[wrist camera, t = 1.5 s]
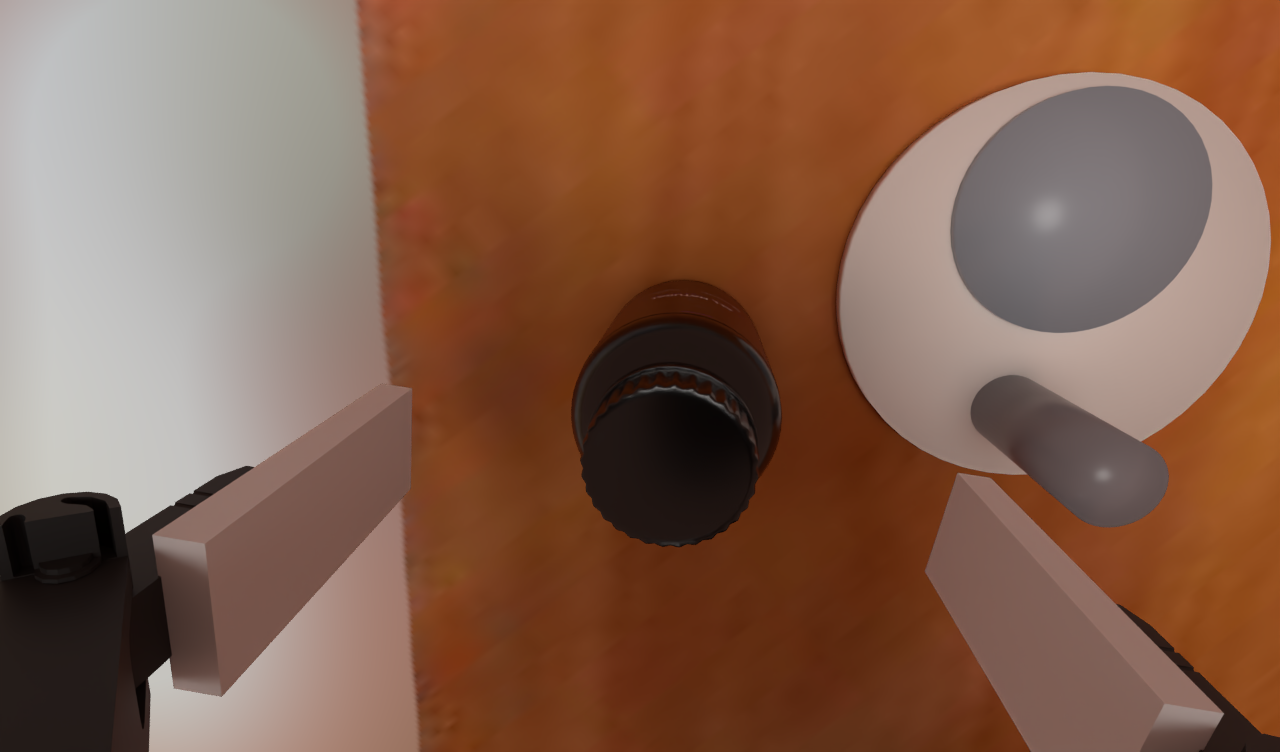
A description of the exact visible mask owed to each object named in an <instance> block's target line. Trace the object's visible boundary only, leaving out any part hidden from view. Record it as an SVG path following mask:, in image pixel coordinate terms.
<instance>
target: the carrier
mask: <svg viewBox="0 0 1280 752" xmlns="http://www.w3.org/2000/svg"><path fill="white" fill-rule="evenodd" d="M1270 246H1271V234H1270V217H1269V211H1268V206H1267V202H1266V197H1265V192H1264V188H1263V186H1262V183H1261V181H1260V178H1259V176H1258V173H1257V171H1256V168H1255V166H1254V163H1253V162H1252V160H1251V158H1250V157H1249V155H1248V153H1247V152H1246V150H1245V148H1244V147H1243V145H1242V144H1241V142H1240V140H1239V139H1238V138H1237V137H1236V136H1235V135H1234V134H1233V132H1232V131H1231V130H1230V129H1229V128H1228V127H1227V126H1226V124H1225V123H1224V122H1223V121H1222V120H1221V119H1219V118H1218V117H1217V116H1216V115H1215V114H1213V113H1212V112H1211V111H1210V110H1208V109H1207V108H1206V107H1205V106H1203V105H1202V104H1201V103H1199V102H1197V101H1196V100H1194V99H1192V98H1190V97H1189V96H1187V95H1185V94H1183V93H1182V92H1180V91H1178V90H1176V89H1173V88H1171V87H1168V86H1165V85H1163V84H1160V83H1157V82H1154V81H1152V80H1148V79H1144V78H1139V77H1134V76H1129V75H1124V74H1115V73H1097V72H1086V73H1073V74H1061V75H1055V76H1051V77H1046V78H1041V79H1037V80H1032V81H1028V82H1025V83H1022V84H1018V85H1015V86H1012V87H1009V88H1007V89H1004V90H1001V91H998V92H995V93H992V94H989V95H986V96H984V97H982V98H980V99H978V100H976V101H974V102H972V103H970V104H968V105H966V106H964V107H962V108H960V109H958V110H957V111H955V112H954V113H952V114H950V115H949V116H947V117H946V118H944V119H943V120H941V121H939V122H938V123H936V124H935V125H933V126H932V127H931V128H930V129H929V130H927V131H926V132H925V133H924V134H922V135H921V136H920V137H919V138H918V139H916V140H915V141H914V142H913V143H911V144H910V145H909V146H908V148H907V149H906V150H905V151H904V152H903V153H902V154H901V155H900V156H899V157H898V158H897V159H896V160H895V161H894V162H893V163H892V164H891V165H890V166H889V168H888V169H887V170H886V172H885V173H884V174H883V176H882V177H881V178H880V180H879V181H878V182H877V183H876V185H875V186H874V187H873V189H872V191H871V192H870V194H869V196H868V197H867V199H866V201H865V202H864V204H863V206H862V207H861V209H860V211H859V213H858V215H857V217H856V220H855V222H854V224H853V226H852V229H851V231H850V233H849V236H848V239H847V242H846V245H845V249H844V252H843V255H842V259H841V263H840V269H839V275H838V281H837V292H836V315H837V324H838V334H839V338H840V342H841V346H842V349H843V353H844V357H845V359H846V362H847V364H848V366H849V369H850V371H851V374H852V376H853V378H854V380H855V381H856V383H857V385H858V386H859V388H860V390H861V391H862V393H863V395H864V396H865V397H866V399H867V400H868V401H869V402H870V404H871V405H872V406H873V407H874V408H875V410H876V411H877V412H878V413H879V415H880V416H881V417H882V418H883V419H884V421H885V422H887V423H888V424H889V425H890V426H891V427H892V428H893V429H894V430H895V431H896V432H897V433H898V434H900V435H901V436H902V437H903V438H905V439H906V440H908V441H909V442H911V443H912V444H914V445H915V446H916V447H918V448H919V449H921V450H923V451H925V452H927V453H929V454H931V455H933V456H935V457H937V458H939V459H941V460H944V461H947V462H950V463H952V464H955V465H958V466H961V467H964V468H969V469H974V470H978V471H983V472H989V473H999V474H1010V475H1016V474H1028V475H1029V476H1030V477H1031V478H1032V479H1034V480H1035V481H1036V482H1037V483H1038V484H1039V485H1041V486H1042V487H1043V488H1044V489H1045V490H1046V491H1048V492H1049V493H1050V494H1051V495H1052V496H1054V497H1055V498H1056V499H1057V500H1058V501H1059V502H1061V503H1062V504H1063V505H1064V506H1065V507H1066V508H1068V509H1069V510H1070V511H1071V512H1072V513H1073V514H1075V515H1076V516H1077V517H1078V518H1079V519H1081V520H1082V521H1084V522H1086V523H1088V524H1091V525H1094V526H1099V527H1118V526H1123V525H1127V524H1130V523H1133V522H1135V521H1137V520H1139V519H1141V518H1142V517H1144V516H1146V515H1147V514H1148V513H1150V512H1151V511H1152V510H1153V509H1154V508H1155V507H1156V506H1157V505H1158V504H1159V502H1160V501H1161V499H1162V498H1163V496H1164V494H1165V492H1166V489H1167V486H1168V478H1169V475H1168V469H1167V465H1166V463H1165V461H1164V459H1163V458H1162V457H1161V455H1160V454H1159V453H1158V452H1157V451H1155V450H1154V449H1153V448H1151V447H1149V446H1147V445H1146V444H1144V443H1142V442H1141V441H1143V440H1144V439H1146V438H1148V437H1149V436H1151V435H1153V434H1154V433H1156V432H1158V431H1159V430H1161V429H1162V428H1164V427H1165V426H1166V425H1168V424H1169V423H1170V422H1171V421H1173V420H1174V419H1175V418H1177V417H1178V416H1179V415H1181V414H1182V413H1183V412H1185V411H1186V410H1187V409H1188V408H1189V407H1190V406H1191V405H1192V404H1193V403H1194V402H1195V401H1196V400H1197V399H1198V398H1199V397H1200V396H1202V395H1203V394H1204V393H1205V392H1206V390H1207V389H1208V388H1209V387H1210V386H1211V385H1212V383H1213V382H1214V381H1215V380H1216V379H1217V378H1218V376H1219V375H1220V374H1221V373H1222V372H1223V371H1224V369H1225V368H1226V366H1227V365H1228V363H1229V362H1230V360H1231V359H1232V357H1233V356H1234V354H1235V353H1236V351H1237V350H1238V348H1239V347H1240V345H1241V343H1242V341H1243V339H1244V337H1245V335H1246V333H1247V332H1248V330H1249V328H1250V326H1251V324H1252V322H1253V319H1254V317H1255V314H1256V311H1257V309H1258V306H1259V303H1260V301H1261V298H1262V295H1263V290H1264V286H1265V282H1266V277H1267V273H1268V269H1269V258H1270Z"/></svg>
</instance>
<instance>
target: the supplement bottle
mask: <svg viewBox="0 0 1280 752" xmlns="http://www.w3.org/2000/svg"><path fill="white" fill-rule="evenodd" d="M571 420H572V428H573V434H574V438H575V441H576V444H577V447H578V450H579V452H580V454H581V458H580V461H581V464H582V466H583V470H582V478H583V480H584V481H585V483H586V492H587V493H588V495H589V496H590V497H591V498H592V502H593V506H594V507H595V508H597V509H598V510H599V511H600V512H601V514H602V516H603V518H604V519H605V520H607V521H609V522H611V523H612V524H613V526H614V527H615V529H617V530H619V531H623V532H625V533H626V534H627V535H628V536H629V537H630V538H637V539H640V540H641V541H643V542H644V543H646V544H652V543H655V544H657V545H659V546H662V547H664V546H668V545H672V546H675V547H682V546H684V545H686V544H691V545H696V544H698V543H699V542H701V541H702V540H709V539H712V538H713V537H714V536H715V535H716V534H717V533H721V532H724V531H726V530H727V528H728V527H729V525H730V524H731V523H734V522H736V521H738V519H739V517H740V514H741V512H743V511H744V510H746V509H747V508H748V504H749V499H750V498H751V497H752V496H753V495H754V494H755V483H756V482H757V480H758V479H759V477H760V476H761V475H762V474H763V472H764V471H765V469H766V468H767V467H768V465H769V463H770V461H771V459H772V457H773V455H774V452H775V450H776V447H777V444H778V441H779V437H780V431H781V422H782V412H781V402H780V396H779V391H778V387H777V384H776V381H775V378H774V375H773V373H772V370H771V367H770V365H769V362H768V359H767V357H766V354H765V351H764V349H763V346H762V343H761V341H760V338H759V335H758V333H757V330H756V328H755V326H754V324H753V322H752V320H751V319H750V317H749V315H748V314H747V312H746V311H745V310H744V309H743V307H742V306H741V305H740V304H739V303H738V302H737V301H736V300H734V299H733V298H732V297H731V296H730V295H728V294H727V293H725V292H724V291H722V290H720V289H718V288H716V287H714V286H711V285H708V284H705V283H701V282H697V281H689V280H679V281H670V282H665V283H661V284H658V285H655V286H653V287H650V288H648V289H646V290H644V291H643V292H641V293H640V294H638V295H637V296H635V297H634V298H633V299H632V300H630V301H629V302H628V303H627V304H626V305H625V307H624V308H623V309H622V310H621V311H620V313H619V314H618V315H617V317H616V318H615V319H614V321H613V322H612V324H611V325H610V327H609V328H608V330H607V331H606V333H605V334H604V335H603V337H602V338H601V340H600V341H599V343H598V344H597V346H596V347H595V349H594V350H593V352H592V353H591V355H590V356H589V357H588V359H587V361H586V362H585V364H584V366H583V368H582V370H581V372H580V375H579V377H578V380H577V382H576V385H575V389H574V392H573V398H572V407H571Z"/></svg>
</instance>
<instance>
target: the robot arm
mask: <svg viewBox="0 0 1280 752" xmlns="http://www.w3.org/2000/svg"><path fill="white" fill-rule="evenodd" d="M411 431H412V388H407V387H400V386H394V385H387V384H380V385H379V386H377V387H376V388H374V389H372V390H371V391H370V392H368V393H366V394H365V395H363V396H362V397H360V398H359V399H357V400H356V401H354V402H353V403H351V404H350V405H348V406H347V407H345V408H344V409H342V410H341V411H339V412H338V413H336V414H335V415H333V416H332V417H330V418H329V419H327V420H326V421H324V422H323V423H321V424H319V425H318V426H316V427H315V428H314V429H312V430H310V431H309V432H307V433H306V434H304V435H303V436H301V437H300V438H298V439H297V440H296V441H294V442H292V443H291V444H289V445H288V446H286V447H285V448H283V449H282V450H280V451H279V452H277V453H276V454H274V455H273V456H271V457H269V458H268V459H267V460H265V461H263V462H262V463H260V464H259V465H257V466H256V467H250V466H245V467H242V468H239V469H236V470H233V471H231V472H228V473H225V474H222V475H219V476H217V477H215V478H214V479H212V480H210V481H209V482H207V483H206V484H204V485H202V486H201V487H199V488H198V489H196V490H195V491H194V493H193V494H188V495H186V496H185V497H184V498H182V499H180V500H178V501H177V502H176V503H175V505H174V506H169V507H167V508H166V509H164V510H162V511H161V512H159V513H158V514H156V515H155V516H153V517H151V518H150V519H148V520H147V521H145V522H143V523H142V524H140V525H139V526H137V527H135V528H134V529H132V530H131V531H129V532H127V533H126V534H125V530H124V524H123V517H122V511H121V506H120V504H119V501H118V499H116V498H114V497H112V496H110V495H107V494H103V493H93V492H79V493H66V494H60V495H55V496H51V497H46V498H41V499H37V500H35V501H32V502H29V503H26V504H23V505H20V506H18V507H15V508H13V509H12V510H10V511H8V512H6V513H5V514H3V515H1V516H0V752H149V727H150V689H149V683H148V677H149V676H150V675H151V674H152V673H154V672H155V671H156V670H157V669H158V668H159V667H160V666H161V665H162V664H163V663H164V662H166V661H167V660H168V659H169V658H170V664H171V671H172V678H173V686H174V688H175V689H181V690H187V691H192V692H198V693H203V694H209V695H215V696H221V697H222V696H223V695H224V694H225V693H226V691H227V690H228V689H229V688H230V687H231V686H232V685H233V684H234V683H235V682H236V680H237V679H238V678H239V677H240V676H241V675H242V674H243V673H244V672H245V671H246V669H247V668H248V667H249V666H250V665H251V664H252V663H253V662H254V661H255V660H256V658H257V657H258V656H259V655H260V654H261V653H262V652H263V651H264V650H265V649H266V647H267V646H268V645H269V644H270V642H272V641H273V640H274V638H275V637H276V636H277V635H278V634H279V633H280V632H281V631H282V630H283V629H284V628H285V626H286V625H287V624H288V623H289V622H290V621H291V620H292V619H293V618H294V617H295V615H296V614H297V613H298V612H299V611H300V610H301V609H302V608H303V606H305V604H306V603H307V602H308V601H309V600H310V599H311V598H312V597H313V596H314V595H315V593H316V592H317V591H318V590H319V589H320V588H321V587H322V586H323V585H324V584H325V582H326V581H327V580H328V579H329V578H330V577H331V576H332V575H333V574H334V573H335V571H336V570H337V569H338V568H339V567H340V566H341V565H342V564H343V563H344V561H345V560H346V559H347V558H348V557H349V556H350V555H351V554H352V553H353V552H354V550H355V549H356V548H357V547H358V546H359V545H360V544H361V543H362V542H363V541H364V539H365V538H366V537H367V536H368V535H369V534H370V533H371V532H372V530H374V528H375V527H376V526H377V525H378V524H379V523H380V522H381V521H382V520H383V518H384V517H385V516H386V515H387V514H388V513H389V512H390V511H391V510H392V508H394V506H395V505H396V504H397V503H398V502H399V501H400V500H401V499H402V498H403V497H404V495H405V494H406V493H407V492H408V491H409V490H410V489H411ZM925 572H926V574H927V576H928V578H929V579H930V581H931V583H932V584H933V586H934V588H935V589H936V591H937V593H938V595H939V596H940V598H941V600H942V601H943V603H944V605H945V606H946V608H947V610H948V612H949V613H950V615H951V617H952V618H953V620H954V622H955V623H956V625H957V627H958V629H959V630H960V632H961V634H962V635H963V637H964V639H965V640H966V642H967V644H968V646H969V647H970V649H971V651H972V652H973V654H974V656H975V657H976V659H977V661H978V662H979V664H980V666H981V668H982V669H983V671H984V673H985V674H986V676H987V678H988V679H989V681H990V683H991V685H992V686H993V688H994V690H995V691H996V693H997V695H998V696H999V698H1000V700H1001V702H1002V703H1003V705H1004V707H1005V708H1006V710H1007V712H1008V713H1009V715H1010V717H1011V719H1012V720H1013V722H1014V724H1015V725H1016V727H1017V729H1018V730H1019V732H1020V734H1021V736H1022V737H1023V739H1024V741H1025V742H1026V744H1027V746H1028V747H1029V749H1030V751H1031V752H1280V737H1275V736H1271V735H1267V734H1261V733H1260V732H1259V731H1258V730H1257V729H1256V728H1255V727H1254V726H1253V725H1252V724H1251V723H1250V722H1249V721H1248V720H1247V719H1246V718H1245V717H1244V716H1243V715H1242V714H1241V713H1240V712H1239V711H1238V710H1237V709H1236V708H1235V707H1234V706H1232V705H1231V704H1230V703H1229V702H1228V701H1227V700H1226V699H1225V698H1224V697H1223V696H1222V695H1221V694H1220V693H1219V692H1218V691H1217V690H1216V689H1215V688H1214V687H1213V686H1212V685H1211V684H1210V683H1209V682H1208V681H1207V680H1206V679H1205V678H1204V677H1203V676H1202V675H1201V674H1200V673H1199V672H1194V670H1193V668H1194V667H1193V666H1192V665H1191V664H1190V663H1189V662H1188V661H1186V660H1185V659H1184V658H1183V657H1182V656H1181V655H1180V654H1179V653H1175V652H1174V648H1173V647H1172V646H1171V645H1170V644H1169V643H1168V642H1167V641H1166V640H1165V639H1164V638H1163V637H1162V636H1161V635H1160V634H1159V633H1158V632H1157V631H1156V630H1155V629H1154V628H1153V627H1152V626H1150V625H1149V624H1148V623H1146V622H1145V621H1143V620H1142V619H1140V618H1139V617H1137V616H1136V615H1134V614H1133V613H1131V612H1130V611H1128V610H1127V609H1126V608H1124V607H1123V606H1121V605H1118V604H1115V603H1114V602H1113V601H1112V600H1111V599H1110V598H1109V597H1108V596H1107V595H1106V594H1105V593H1104V592H1103V591H1102V590H1101V589H1100V588H1099V587H1098V586H1097V585H1096V584H1095V583H1094V582H1093V581H1092V580H1091V579H1090V578H1089V577H1088V576H1087V575H1086V574H1085V573H1084V572H1083V571H1082V570H1081V569H1080V568H1079V567H1078V566H1077V565H1076V564H1075V563H1074V562H1073V561H1072V560H1071V559H1070V558H1069V557H1068V556H1067V555H1066V553H1065V552H1064V551H1063V550H1062V549H1061V548H1060V547H1059V546H1058V545H1057V544H1056V543H1055V542H1054V541H1053V540H1052V539H1051V538H1050V537H1049V536H1048V535H1047V534H1046V533H1045V532H1044V531H1043V530H1042V529H1041V528H1040V527H1039V526H1038V525H1037V524H1036V523H1035V522H1034V521H1033V520H1032V519H1031V518H1030V517H1029V516H1028V515H1027V514H1026V513H1025V512H1024V511H1023V510H1022V509H1021V508H1020V507H1019V506H1018V505H1017V504H1016V503H1015V502H1014V501H1013V500H1012V499H1011V498H1010V497H1009V496H1008V495H1007V494H1006V493H1005V492H1004V491H1003V490H1002V489H1001V488H1000V487H999V486H998V485H997V484H996V483H995V482H994V481H993V480H992V479H991V478H988V477H982V476H975V475H969V474H962V473H957V476H956V479H955V482H954V485H953V488H952V491H951V494H950V497H949V500H948V503H947V506H946V509H945V512H944V515H943V518H942V521H941V524H940V527H939V530H938V533H937V536H936V539H935V542H934V545H933V548H932V551H931V554H930V557H929V560H928V563H927V567H926V570H925Z"/></svg>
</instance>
